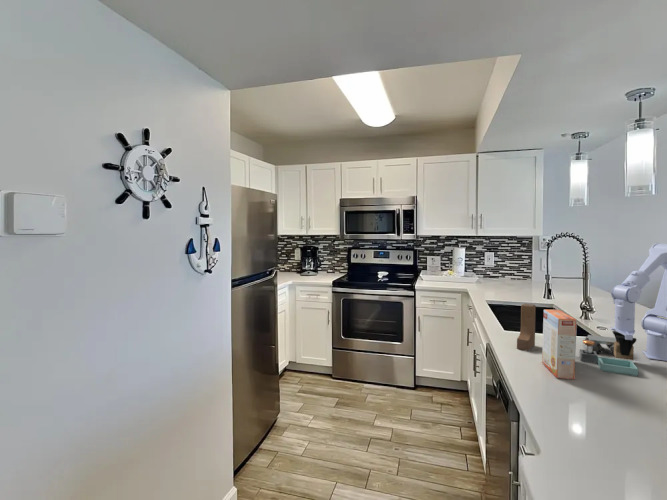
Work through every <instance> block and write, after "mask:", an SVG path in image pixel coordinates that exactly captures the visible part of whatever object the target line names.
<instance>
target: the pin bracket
mask: <svg viewBox="0 0 667 500" xmlns="http://www.w3.org/2000/svg"><path fill="white" fill-rule="evenodd" d="M578 356H579V359H580V361H581V362H584V363H585V362H586V363H592V364H593V363H594V364H598V357H599V355H598V354H597V353H596V351H592V354H587V353H585V349H582V348H579V355H578Z"/></svg>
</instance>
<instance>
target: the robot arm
mask: <svg viewBox="0 0 667 500" xmlns="http://www.w3.org/2000/svg"><path fill="white" fill-rule="evenodd" d="M660 266H661V267H663V268H664V272H663V276H662V277H661V283H660V286H659V290H658V293H657V296H656V301H655V304H654V307H652V308H651V309H648V310H646V311H645V314H644V316H643V317H642V319H641V321H640V324H641V328H642V329H643V330H644V333H646V347H645V349H646V350H642V354H644V356H645V357H646V358H647V359H649V360H659V361H665V362H667V243H659V242H655V243H653V244H652V245H651V247H650V248H649V249H648V257H646V259H645V261H644V262H643V263H642V265H641V266H640V267H639V269H638V270H633V271H631V273H630V274H628V276H627V277H626V278H625V279H624V281H623V282H621V284H617V285H615V286H613V288H612V290H611V292H610V296H611V298H612V302H613V304H614V326H612V327H610V330H611V331H612V334H613V336H614V338H616V342H619V345H620V351H621V355H625V356H629V354H630V351H631V348H632V346H633V347H634V344H635V343H636V342H637V338H636V337H633V336H634V334H636V330H635V322H636V321H635V319H636V315H635V314H636V303H637V302H638V301H639V299H640V298H641V294H642V290H643V288H645V286H646V285H647V284H648V283H649V282H650V281H651V280H650V279H651V277H650V275H651V274H652V273H653V272H655V271H656V270H657V269H658V268H659V267H660Z"/></svg>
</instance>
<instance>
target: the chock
mask: <svg viewBox="0 0 667 500" xmlns="http://www.w3.org/2000/svg"><path fill="white" fill-rule="evenodd" d="M634 349H635V348H634V345H633V346H632V348H631V351H630V354H629V356H625V355H621V351H620V345H619V342H614V355H613V356H614V357H615V359H621V360H629V361H634V352H635V351H634Z"/></svg>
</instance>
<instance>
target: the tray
mask: <svg viewBox="0 0 667 500" xmlns="http://www.w3.org/2000/svg"><path fill="white" fill-rule="evenodd" d="M597 365H598V367H599V369H600V371H601V372H606V373H612V374H620V375H627V376H628V375H629V376H634V377H638V376H639V368H638V367H637V366H636V365H635V363H634V362H633V360H628V359H620V358H612V357H605V356H598V363H597Z"/></svg>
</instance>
